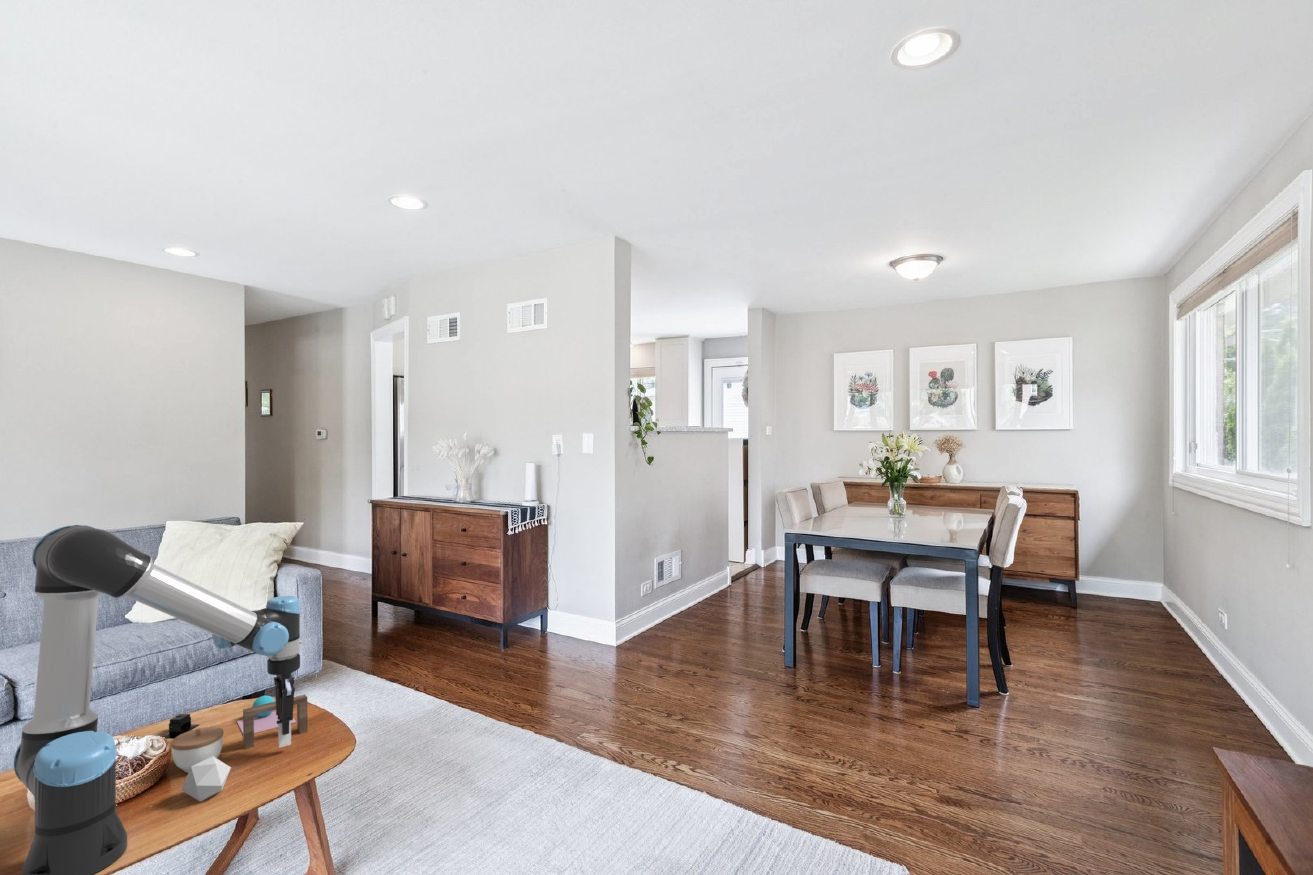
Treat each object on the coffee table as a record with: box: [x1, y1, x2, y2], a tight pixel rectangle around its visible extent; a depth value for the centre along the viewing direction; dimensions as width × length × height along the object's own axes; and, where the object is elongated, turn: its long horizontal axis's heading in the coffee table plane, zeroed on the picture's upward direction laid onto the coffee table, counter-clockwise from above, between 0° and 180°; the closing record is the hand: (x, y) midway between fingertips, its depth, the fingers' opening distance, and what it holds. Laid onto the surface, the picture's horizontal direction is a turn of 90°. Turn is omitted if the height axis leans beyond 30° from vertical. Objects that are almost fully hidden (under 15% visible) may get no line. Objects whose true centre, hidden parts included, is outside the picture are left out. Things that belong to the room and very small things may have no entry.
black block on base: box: [162, 713, 201, 740], centre depth 180 cm, size 13×8×5 cm, turn 0°
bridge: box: [242, 693, 309, 750], centre depth 175 cm, size 3×15×10 cm, turn 131°
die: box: [181, 756, 232, 803], centre depth 146 cm, size 8×9×10 cm
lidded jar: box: [170, 726, 224, 773], centre depth 160 cm, size 11×11×9 cm
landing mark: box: [236, 710, 297, 735], centre depth 185 cm, size 13×13×1 cm
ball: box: [251, 695, 276, 717], centre depth 189 cm, size 6×6×6 cm
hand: (284, 744), depth 167 cm, fingers closed
